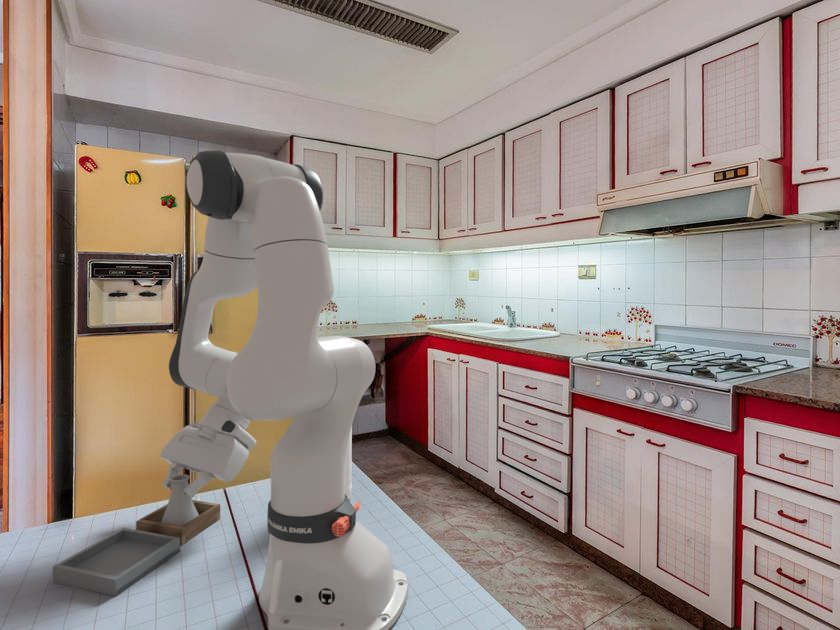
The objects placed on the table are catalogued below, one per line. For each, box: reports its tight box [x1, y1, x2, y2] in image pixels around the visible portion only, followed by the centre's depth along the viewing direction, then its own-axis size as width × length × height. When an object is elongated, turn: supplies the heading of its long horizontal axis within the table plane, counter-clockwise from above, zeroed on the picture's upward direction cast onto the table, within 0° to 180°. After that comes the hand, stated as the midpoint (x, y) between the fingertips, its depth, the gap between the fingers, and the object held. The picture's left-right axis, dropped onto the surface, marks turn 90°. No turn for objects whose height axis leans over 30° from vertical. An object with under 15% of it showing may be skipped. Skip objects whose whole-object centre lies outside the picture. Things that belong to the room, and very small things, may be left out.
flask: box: [161, 473, 199, 526], centre depth 87 cm, size 7×7×10 cm
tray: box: [52, 527, 181, 597], centre depth 75 cm, size 12×12×2 cm
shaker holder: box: [135, 499, 221, 546], centre depth 88 cm, size 10×10×3 cm
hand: (176, 491), depth 87 cm, fingers open, 5 cm apart
